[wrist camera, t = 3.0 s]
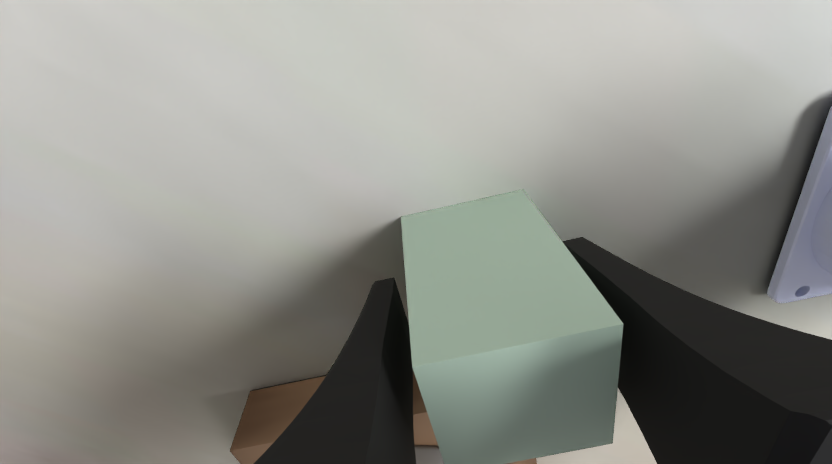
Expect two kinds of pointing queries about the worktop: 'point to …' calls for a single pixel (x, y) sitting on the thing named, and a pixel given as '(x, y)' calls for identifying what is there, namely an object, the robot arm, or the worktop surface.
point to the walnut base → (283, 403)
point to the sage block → (507, 334)
